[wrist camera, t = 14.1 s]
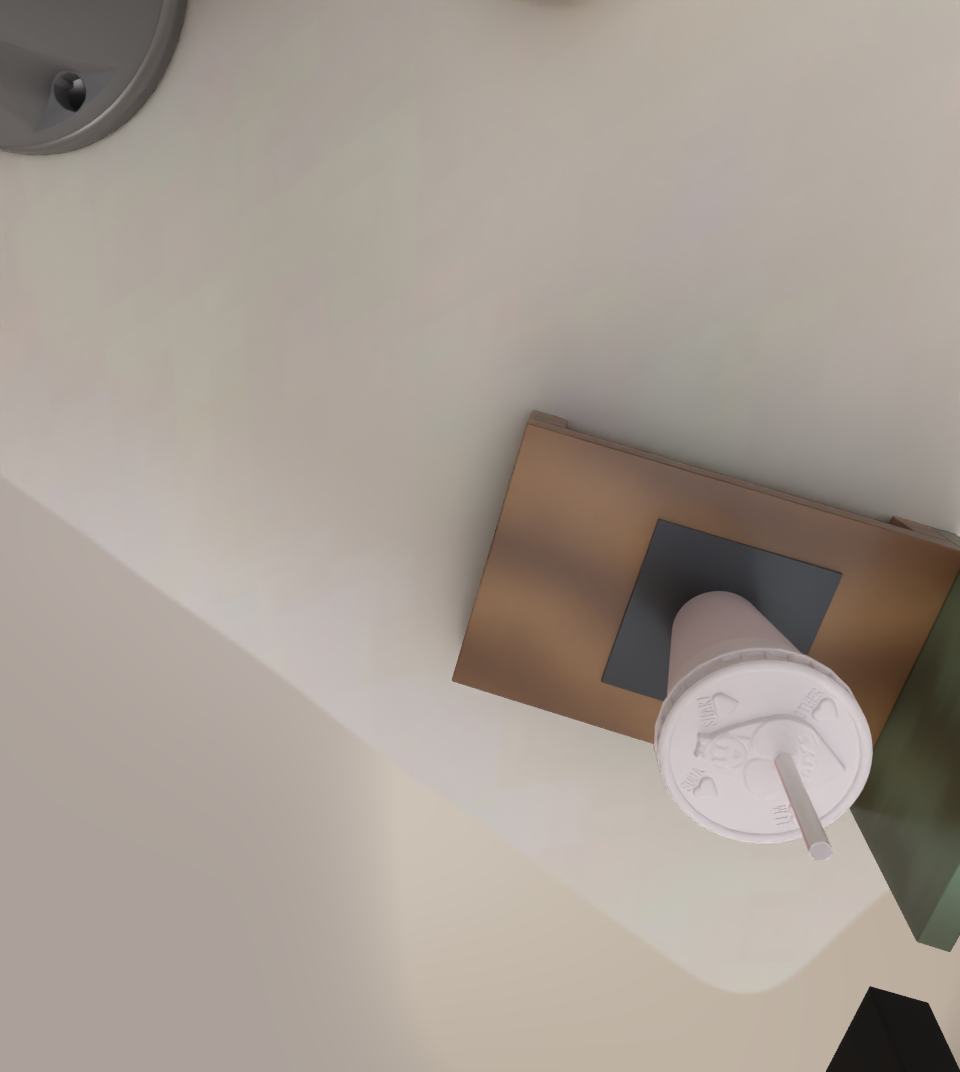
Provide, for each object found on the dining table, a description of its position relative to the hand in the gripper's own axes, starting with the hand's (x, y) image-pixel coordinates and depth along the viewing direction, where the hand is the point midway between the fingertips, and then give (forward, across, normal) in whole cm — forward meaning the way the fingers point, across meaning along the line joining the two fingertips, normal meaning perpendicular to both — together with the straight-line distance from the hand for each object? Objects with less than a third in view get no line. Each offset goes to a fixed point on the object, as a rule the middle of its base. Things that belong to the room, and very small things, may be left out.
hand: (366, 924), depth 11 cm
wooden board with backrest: (+28, +9, -4) cm, 29 cm away
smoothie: (+24, +10, -4) cm, 26 cm away
